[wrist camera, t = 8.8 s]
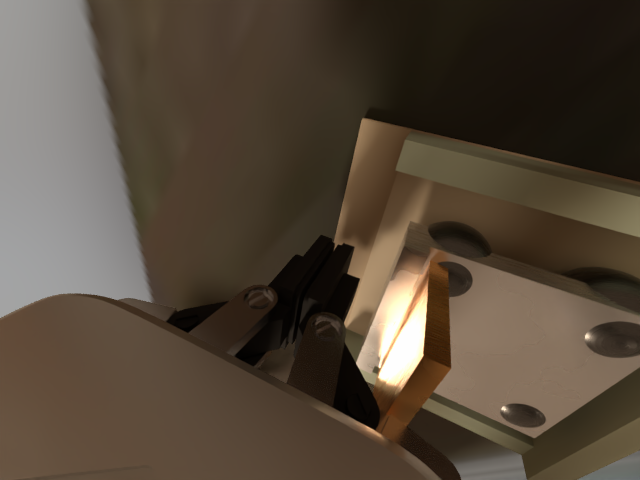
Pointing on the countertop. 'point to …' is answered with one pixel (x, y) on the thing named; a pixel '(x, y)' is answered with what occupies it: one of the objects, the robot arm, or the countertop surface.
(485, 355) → the cart
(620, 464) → the countertop surface
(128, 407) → the robot arm
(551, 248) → the dock
